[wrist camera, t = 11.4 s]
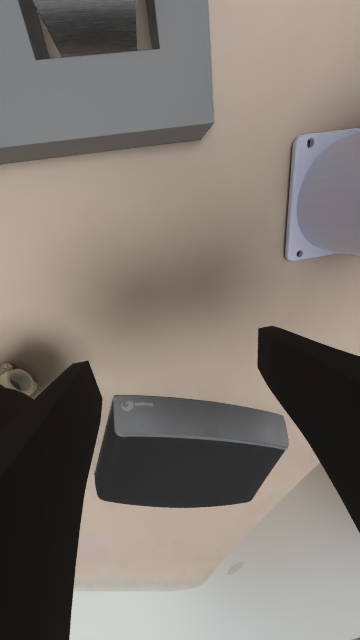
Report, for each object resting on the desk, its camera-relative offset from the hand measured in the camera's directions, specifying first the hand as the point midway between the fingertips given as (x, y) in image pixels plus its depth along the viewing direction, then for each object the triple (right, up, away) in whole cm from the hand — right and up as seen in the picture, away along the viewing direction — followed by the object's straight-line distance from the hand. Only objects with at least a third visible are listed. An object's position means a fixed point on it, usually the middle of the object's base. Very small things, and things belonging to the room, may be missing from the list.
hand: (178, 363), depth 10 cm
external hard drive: (+1, -12, +17) cm, 21 cm away
